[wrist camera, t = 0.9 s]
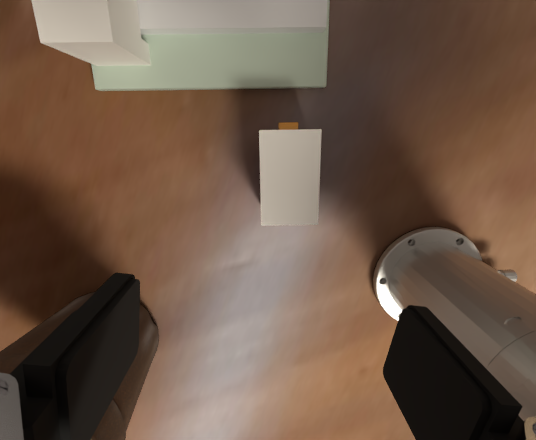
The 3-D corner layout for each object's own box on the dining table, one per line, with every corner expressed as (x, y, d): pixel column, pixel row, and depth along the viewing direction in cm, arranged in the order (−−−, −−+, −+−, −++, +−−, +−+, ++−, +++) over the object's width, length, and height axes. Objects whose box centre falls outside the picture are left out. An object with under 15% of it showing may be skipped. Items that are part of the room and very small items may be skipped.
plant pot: (41, 370, 38) (-113, 534, 22) (45, 261, 33) (-143, 371, 18) (164, 392, 39) (101, 560, 24) (184, 290, 35) (122, 415, 19)
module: (308, 124, 30) (321, 121, 23) (306, 205, 32) (318, 224, 25) (259, 124, 29) (258, 122, 23) (261, 206, 32) (261, 225, 25)
